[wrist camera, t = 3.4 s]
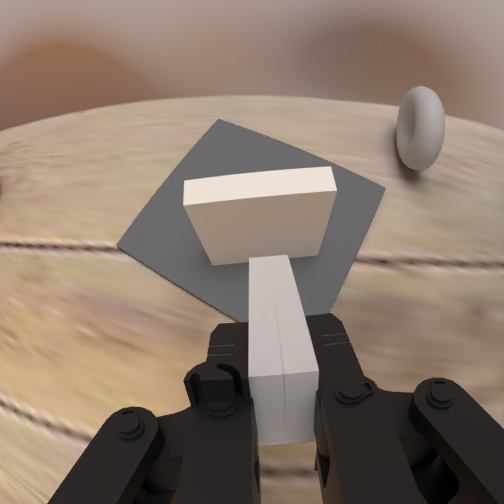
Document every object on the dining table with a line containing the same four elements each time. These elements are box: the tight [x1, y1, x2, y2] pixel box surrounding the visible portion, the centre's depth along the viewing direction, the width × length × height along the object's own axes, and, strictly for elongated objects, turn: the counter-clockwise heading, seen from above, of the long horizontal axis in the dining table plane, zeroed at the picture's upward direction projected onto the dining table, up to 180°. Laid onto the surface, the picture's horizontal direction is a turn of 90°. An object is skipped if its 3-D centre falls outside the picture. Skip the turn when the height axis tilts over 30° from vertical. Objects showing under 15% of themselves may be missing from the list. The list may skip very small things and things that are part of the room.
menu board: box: [183, 166, 337, 266], centre depth 26 cm, size 2×10×11 cm, turn 94°
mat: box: [116, 119, 385, 322], centre depth 33 cm, size 22×20×1 cm
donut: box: [396, 86, 445, 171], centre depth 31 cm, size 10×4×10 cm, turn 172°
